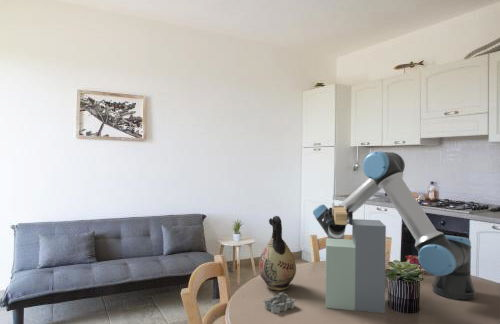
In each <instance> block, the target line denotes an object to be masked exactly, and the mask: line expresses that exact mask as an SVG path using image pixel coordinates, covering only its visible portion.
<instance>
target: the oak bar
mask: <svg viewBox="0 0 500 324" xmlns="http://www.w3.org/2000/svg"><path fill="white" fill-rule="evenodd" d="M334 220H335V224H339V225H346V226H348V224H347V212H346V210H345V208H344V206H339V205H334Z"/></svg>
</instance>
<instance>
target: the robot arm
mask: <svg viewBox="0 0 500 324" xmlns="http://www.w3.org/2000/svg"><path fill="white" fill-rule="evenodd" d="M362 163H363V164H362V171H363V173H364V175H365V176H366V177H367V179H366V180H365V181H364V182H363V183H362V184H360V186H358V188H356V189H355V190H354V191H353V192H352V193H351V194H350V195H348V196H347V198H345V199H344V200H343V201H342V202H341V203H340V204H338V206H344V208H345V210H346V212H347V225H349V226H352V219H354V218H353V214H354V213H355V212H356V211H358V210H359V208H361V207H362V206H363V205H364V204H365V203H367V202H368V201H369V200H370V199H371V198H372V197H374V196H375V195H376V194H377V193H379V192H380V191H381V190H382V189H383V191H384V192H385V193H386V196H387V197H388V198H389V201H390V202H391V203H392V205H393V207H394V208H395V210H396V211H397V213H398V215H399V216H400V217H401V219H402V221H403V222H404V224H405V226H406V227H407V229H408V230H409V232H410V233H411V236H412V237H413V239H414V240H415V243H414V247H415V249H416V250H417V253H418V255H417V256H418V260H419V263H420V265H421V267H422V269H423V270H424V271H425V272H427V273H428V274H430V275H433V276H435V277H434V280H433V283H432V289H431V290H432V291H433V292H434V293H435V294H436V295H438V296H441V297H444V298H447V299H452V300H458V299H463V300H462V301H465V300H464V299H471V300H474V299H476V298H475V297H476V294H477V292H476V288H475V285H474V283H473V280H472V275H471V271H472V270H471V262H472V261H471V260H472V258H471V257H472V253H471V252H472V245H471V239H470V238H467V237H464V236H463V237H462V236H458V235H457V236H455V235H449V234H445V233H444V232H442V231H438V230H437V229H436V227H435V226H434V224H433V223H432V221H431V220H430V218H429V217H428V215H427V213H425V211H424V209H423V207H422V206H421V205H420V203H419V202H418V201H417V199H416V197H415V196H414V194H413V192H412V191H411V190H410V187H409V186H408V185H407V183H406V182H405V181H404V179H403V177H404V171H405V166H406V164H405V161H404V158H403V157H402V156H401V155H400V154H398V153H397V152H396V153H395V152H390V151H389V152H388V151H381V150H380V151H379V150H378V151H373V152H370V153H368V154H367V155H366V157H365V158H364V159H363V162H362ZM334 206H335V203H334V202H332V205H331V207H329V208H328V207H327V206H326V205H325V204H320V205H318V206H316V207H315V208H314V210H312V211H313V212H312V214H313V215H314V218H315V220H316V221H317V222H318V224H319V225H320V227H321V229H323V231H324V233H325V234H326V236H327V238H331V239H345V233H346V228H347V225H339V224H335V220H334ZM473 298H474V299H473Z"/></svg>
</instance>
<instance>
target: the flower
mask: <svg viewBox="0 0 500 324" xmlns="http://www.w3.org/2000/svg"><path fill="white" fill-rule="evenodd" d="M405 258H406V262H410V263H414V264H418V265H420V263H419V260H418V255H410V254H408V255H405ZM419 269H420V270H422V269H423V268H422V267H421V265H420V267H419Z"/></svg>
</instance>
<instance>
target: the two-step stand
mask: <svg viewBox="0 0 500 324" xmlns="http://www.w3.org/2000/svg"><path fill="white" fill-rule="evenodd" d="M351 226H352V228H351V229H352V230H351V231H352V234H351V235H352V236H351V239H349V238H348V239H347V238H346V239H345V238H344V239H331V238H328V237H327V238H325V289H324V290H325V295H324V296H325V308H326V309H334V310H346V311H357V312H358V311H359V312H367V313H368V312H369V313H377V314H385V313H386V252H387V251H386V246H387V245H386V238H387V236H386V235H387V231H386V229H387V228H386V227H387V226H386V225H385V224H384V223H383V222H382V221H381V220H379V219H360V218H358V219H356V218H353V219H352V225H351Z"/></svg>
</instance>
